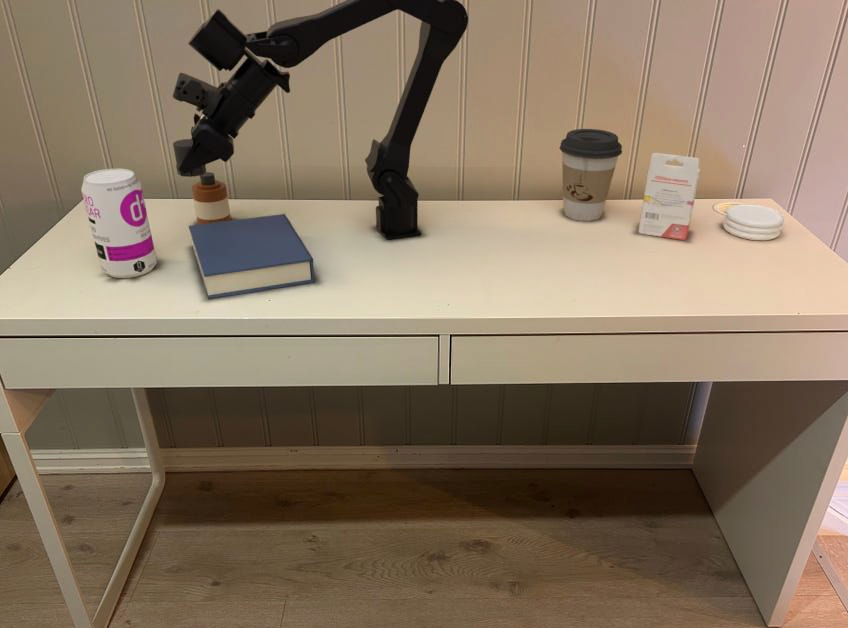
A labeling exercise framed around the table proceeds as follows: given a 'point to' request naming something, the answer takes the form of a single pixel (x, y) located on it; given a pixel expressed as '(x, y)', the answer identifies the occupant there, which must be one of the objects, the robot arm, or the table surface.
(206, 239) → the book
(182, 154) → the cap
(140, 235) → the supplement can
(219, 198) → the brown striped cylinder
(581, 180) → the coffee cup
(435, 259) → the table surface
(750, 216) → the white layered disc
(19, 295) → the table surface
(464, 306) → the table surface
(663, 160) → the ink cartridge box
